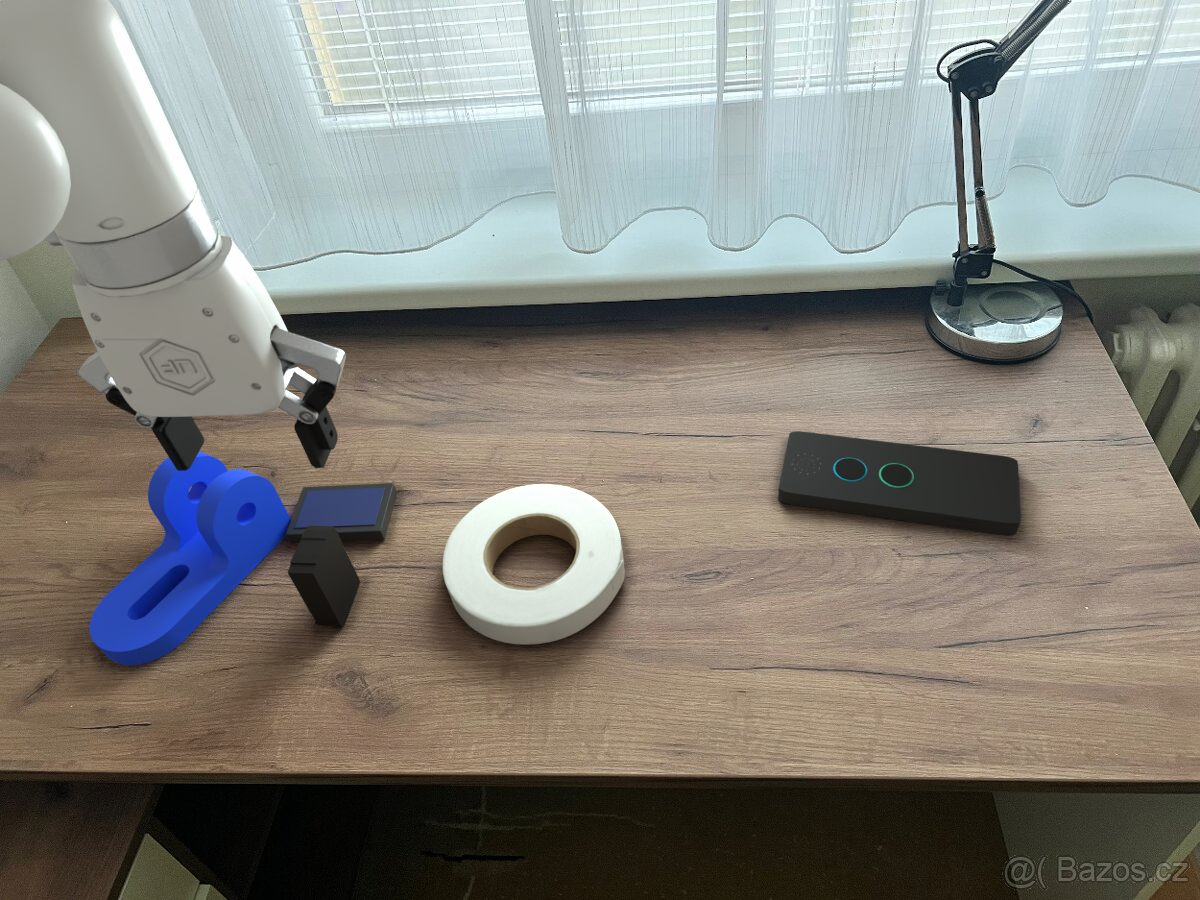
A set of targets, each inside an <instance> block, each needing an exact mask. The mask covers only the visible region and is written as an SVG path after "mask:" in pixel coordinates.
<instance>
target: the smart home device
mask: <svg viewBox="0 0 1200 900" xmlns="http://www.w3.org/2000/svg"><path fill="white" fill-rule="evenodd" d="M777 500H778V501H779V502H781V503H783V504H786V505H793V506H798V507H805V508H812V509H819V510H827V511H834V512H839V513H840V512H841V513H847V514H852V515H853V514H854V515H861V516H867V517H875V518H881V519H888V520H896V521H901V522H909V523H915V524H916V523H917V524H924V525H930V526H937V527H945V528H951V529H958V530H965V531H973V532H978V533H979V532H980V533H987V534H993V535H998V536H999V535H1000V536H1014V535H1016V534H1017V532H1018V530H1019V528H1020V524H1021V520H1022V512H1021V511H1022V509H1021V493H1020V476H1019V461H1018V460H1017V459H1015V458H1014V457H1012V456H1011V457H1010V456H1008V455H1007V456H1006V455H1001V454H998V455H997V454H992V453H983V452H976V451H975V452H974V451H967V450H958V449H950V448H941V447H934V446H925V445H919V444H918V445H917V444H908V443H901V442H892V441H885V440H883V441H882V440H876V439H866V438H859V437H849V436H843V435H835V434H828V433H827V434H826V433H820V432H819V433H817V432H810V431H802V430H801V431H800V430H799V431H798V430H797V431H791V432H789V434H788V438H787V443H786V449H785V454H784V459H783V463H782V468H781V473H780V479H779V484H778V494H777Z"/></svg>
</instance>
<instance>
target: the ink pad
mask: <svg viewBox="0 0 1200 900" xmlns="http://www.w3.org/2000/svg"><path fill="white" fill-rule="evenodd" d="M397 496H398V491H397V488H396V485H395V483H394V482H384V483H383V482H382V483H361V484H360V483H359V484H341V485H340V484H339V485H338V484H337V485H318V486H303V487H302V490H301V493H300V494H299V497H298V499H297V503H296V506H295V509H294V511H293V513H292V517H291V522H290V524H289V527H288V530H287V532H286V539H287V540H288V542H289V544H290V545H299V543H300V541H301V537H302V535H303V533H304V531H305V530H307V528H308V526H334V529H335V530H336V531H337V533H338V535H339V537H340V539H341V541H342V543H352V542H376V541H379V542H380V541H385V540H386V536H387V533H388V529H389V525H390V521H391V518H392V514H393V511H394V507H395V502H396V499H397Z"/></svg>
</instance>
